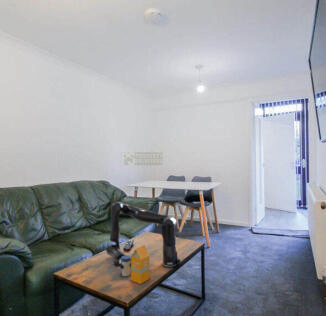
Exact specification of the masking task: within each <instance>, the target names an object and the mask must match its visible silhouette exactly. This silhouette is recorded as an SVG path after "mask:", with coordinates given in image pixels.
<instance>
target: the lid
mask: <svg viewBox="0 0 326 316" xmlns="http://www.w3.org/2000/svg"><path fill="white" fill-rule="evenodd" d="M130 258H131V256H130V255H126V256H122V257H121V261H123V262H129V261H130Z"/></svg>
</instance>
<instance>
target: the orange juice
mask: <svg viewBox="0 0 326 316" xmlns="http://www.w3.org/2000/svg"><path fill="white" fill-rule="evenodd" d="M130 258H131V267H130V280H131V281H132V282H134V283H137V284H140V285H142V284H143V283H145V282H146V281H148V280H150V254H149V252H148V250H147V247H146V245H145V244H144V245H141V246H139V247H137V248H135V249H134V251H133V253H132V255H131V256H130Z"/></svg>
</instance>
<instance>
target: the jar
mask: <svg viewBox="0 0 326 316" xmlns="http://www.w3.org/2000/svg"><path fill="white" fill-rule="evenodd" d="M122 265H123V269H122V268H121V275H122V276H123V277H129V276H131V267H130V261H129V262H123V261H122Z"/></svg>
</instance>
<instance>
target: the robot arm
mask: <svg viewBox="0 0 326 316" xmlns="http://www.w3.org/2000/svg"><path fill="white" fill-rule="evenodd" d="M120 215H126V216H129V217H131V218H133V219H134V220H136V221H138V222H142V223H144V224H145V223H146V224H155V225H160V227H161V238H162V266H163V267H166V268H175V267H176V266H178V265H179V264H181V259H180V258H179V257H178V251H177V236H176V235H175V229H176V227H177V226H178V221H177V219H176V218H175V217H173V216H170V215H165V214H160V213H157V212H154V211H151V210H148V209H145V208H143V207H142V208H141V207H137V206H133V205H130V204H127V203H125V202H123V201H116V202H113V203H112V204H111V207H110V223H111V224H110V235H109V241H110V242H112V243H115V244H108V245H107V246H106V247H105V251H106V254H107V255H109V256H110V257H112V258H113V260H112V265H113V266H114V267H116V268H120V269H121V270H122V269H123V265H122V261H121V257H122V256H127V255H126V254H125V252H123V250H121V246H120V245H121V244H120V235H121V228H120V221H119V220H120ZM130 268H131V257H130Z"/></svg>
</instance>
